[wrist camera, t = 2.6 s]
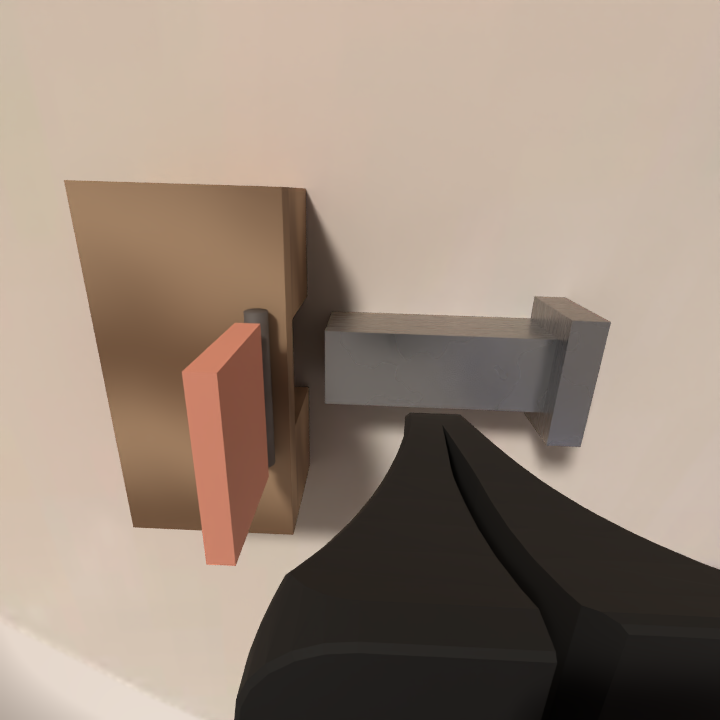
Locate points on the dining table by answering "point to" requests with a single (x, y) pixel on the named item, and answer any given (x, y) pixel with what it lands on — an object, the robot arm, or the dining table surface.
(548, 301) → the pin
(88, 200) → the block
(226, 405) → the flap
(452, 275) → the dining table surface
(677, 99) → the dining table surface
